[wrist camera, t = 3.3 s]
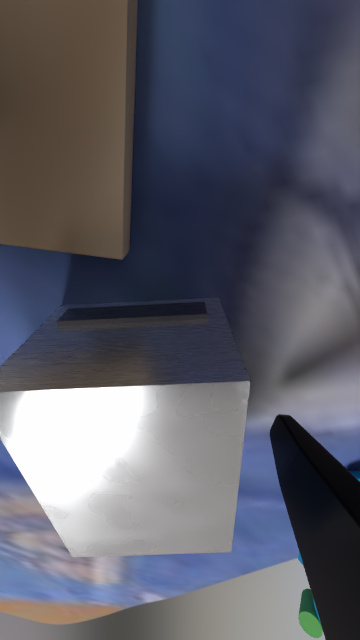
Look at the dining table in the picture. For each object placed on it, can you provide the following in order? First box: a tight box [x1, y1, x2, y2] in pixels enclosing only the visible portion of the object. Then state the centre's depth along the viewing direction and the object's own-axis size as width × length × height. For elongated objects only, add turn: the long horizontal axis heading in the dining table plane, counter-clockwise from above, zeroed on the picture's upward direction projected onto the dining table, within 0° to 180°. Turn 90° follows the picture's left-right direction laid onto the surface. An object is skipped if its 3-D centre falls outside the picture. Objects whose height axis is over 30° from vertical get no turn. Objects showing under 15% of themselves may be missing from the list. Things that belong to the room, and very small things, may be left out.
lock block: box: [0, 298, 250, 557], centre depth 8 cm, size 5×7×4 cm
